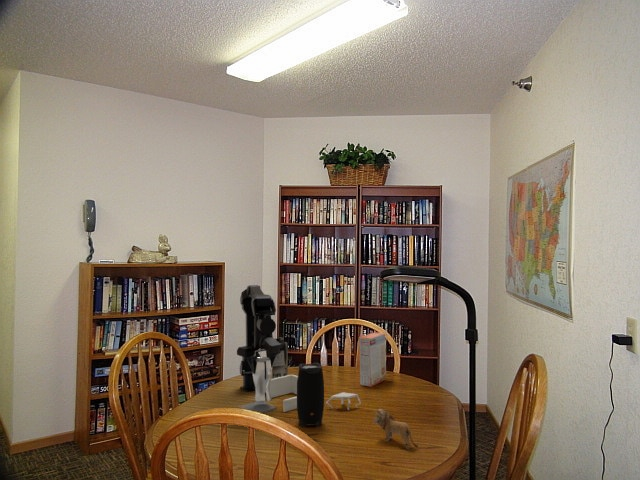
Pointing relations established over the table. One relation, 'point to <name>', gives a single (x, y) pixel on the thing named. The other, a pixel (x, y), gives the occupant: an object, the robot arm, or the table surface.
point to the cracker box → (372, 359)
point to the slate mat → (258, 407)
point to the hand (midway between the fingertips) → (262, 372)
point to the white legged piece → (344, 396)
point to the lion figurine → (393, 427)
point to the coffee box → (280, 364)
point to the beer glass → (262, 379)
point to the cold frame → (285, 390)
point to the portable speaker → (310, 394)
